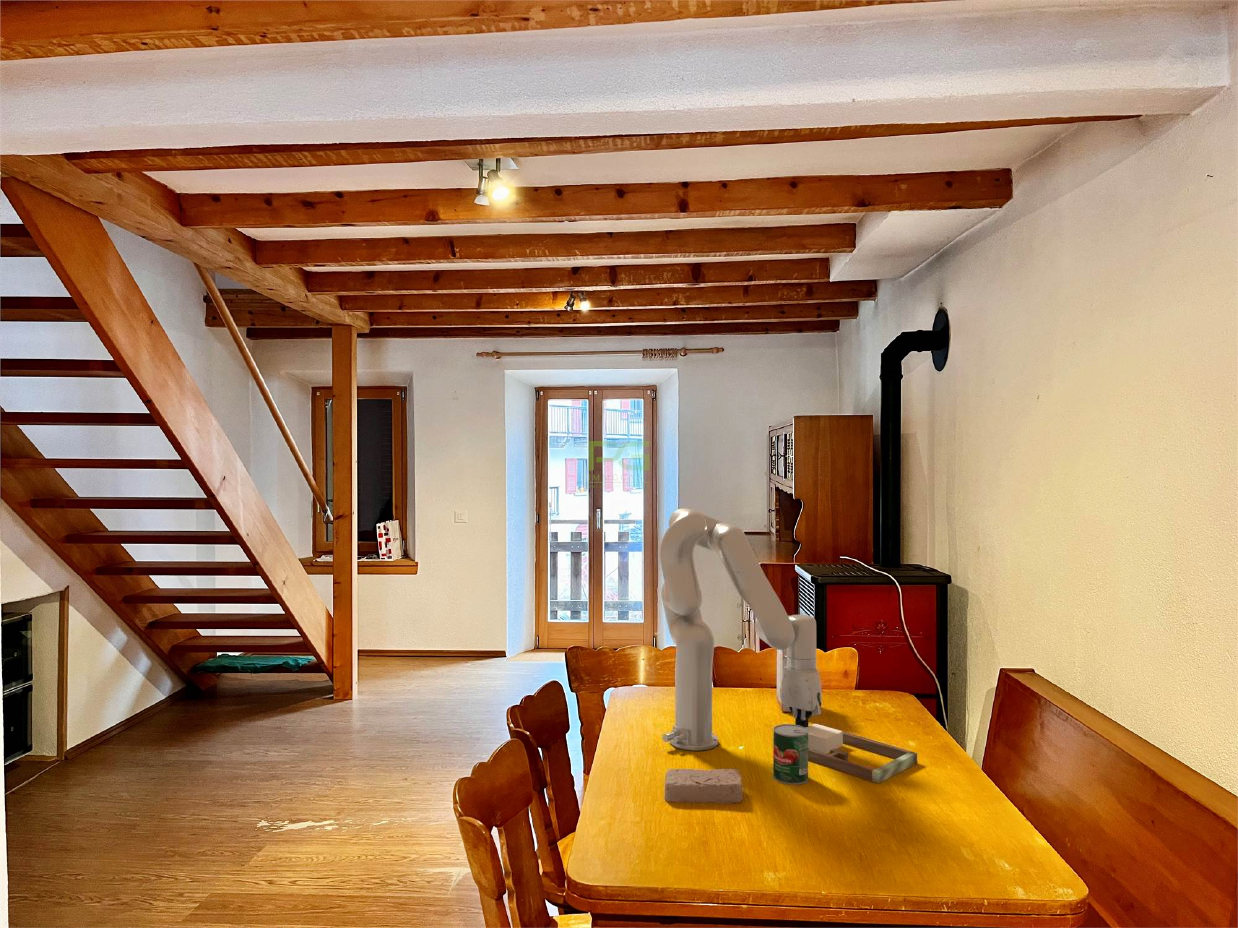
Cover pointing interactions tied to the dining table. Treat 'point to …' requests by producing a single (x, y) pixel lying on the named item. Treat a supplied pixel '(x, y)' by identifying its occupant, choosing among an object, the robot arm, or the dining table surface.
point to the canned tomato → (790, 754)
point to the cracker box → (780, 668)
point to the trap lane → (878, 775)
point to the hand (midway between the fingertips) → (801, 733)
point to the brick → (703, 786)
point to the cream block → (824, 738)
